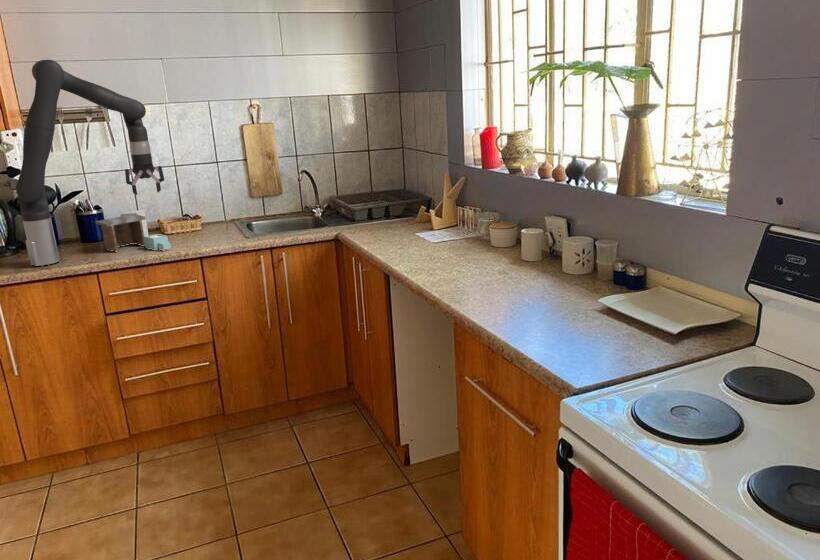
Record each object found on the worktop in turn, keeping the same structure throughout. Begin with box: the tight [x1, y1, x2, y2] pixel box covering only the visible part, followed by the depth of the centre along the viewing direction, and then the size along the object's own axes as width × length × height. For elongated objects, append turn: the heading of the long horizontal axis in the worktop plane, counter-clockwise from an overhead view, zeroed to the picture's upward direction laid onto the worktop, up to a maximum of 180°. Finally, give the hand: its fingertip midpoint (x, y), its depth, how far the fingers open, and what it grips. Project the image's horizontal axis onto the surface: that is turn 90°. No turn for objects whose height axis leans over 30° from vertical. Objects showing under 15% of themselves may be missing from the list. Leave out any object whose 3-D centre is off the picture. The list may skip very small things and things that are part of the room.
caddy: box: [144, 233, 172, 249], centre depth 264 cm, size 12×6×5 cm, turn 48°
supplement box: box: [119, 209, 149, 236], centre depth 281 cm, size 7×7×13 cm
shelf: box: [94, 215, 147, 252], centre depth 267 cm, size 16×10×12 cm, turn 138°
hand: (147, 193), depth 266 cm, fingers open, 8 cm apart
